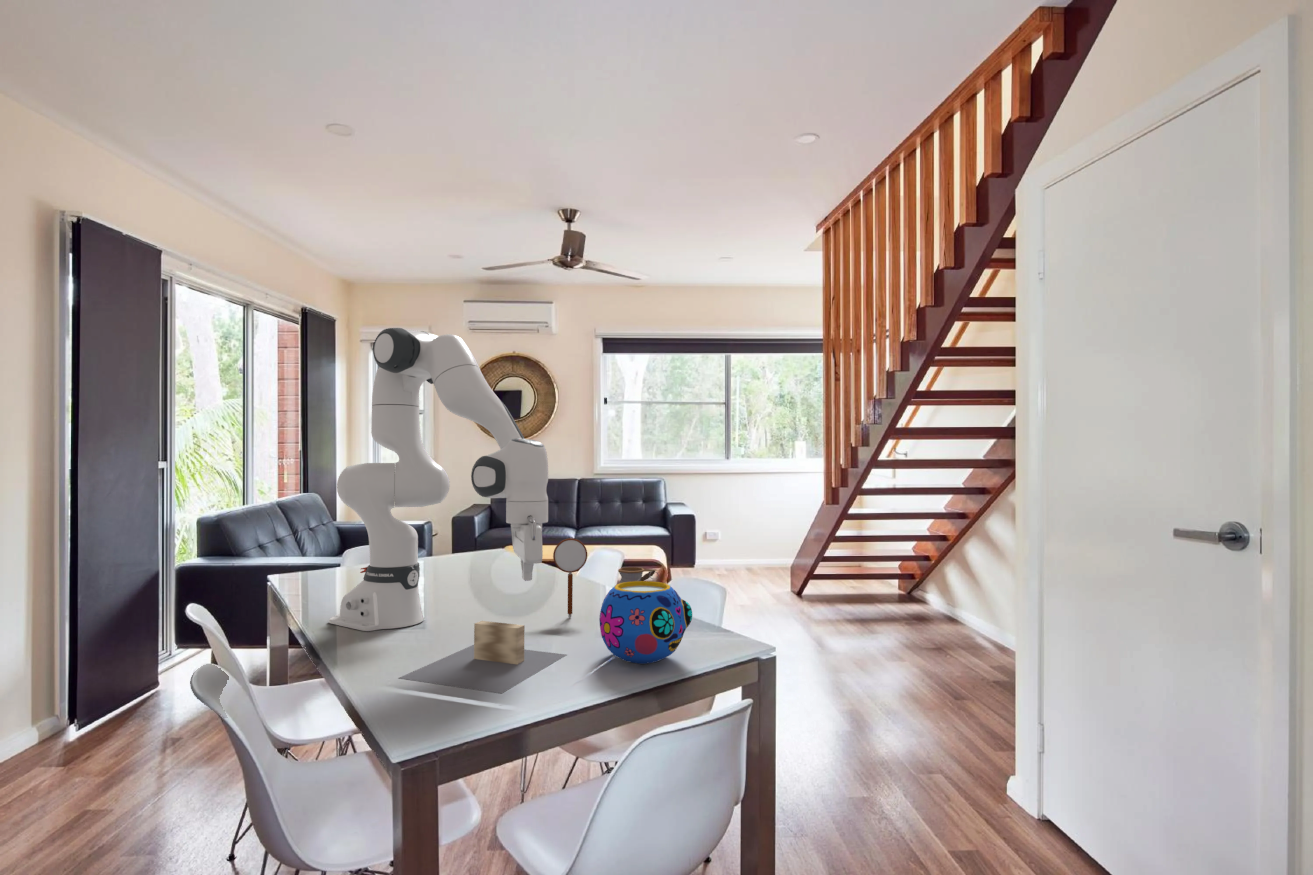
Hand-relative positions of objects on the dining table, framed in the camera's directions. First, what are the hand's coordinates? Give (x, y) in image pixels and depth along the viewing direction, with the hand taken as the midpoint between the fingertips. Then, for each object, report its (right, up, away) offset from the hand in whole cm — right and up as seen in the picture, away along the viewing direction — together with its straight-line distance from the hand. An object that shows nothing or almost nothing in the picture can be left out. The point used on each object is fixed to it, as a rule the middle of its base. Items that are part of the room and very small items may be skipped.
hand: (526, 579), depth 146 cm
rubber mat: (-5, -15, -13) cm, 20 cm away
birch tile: (-4, -14, -9) cm, 17 cm away
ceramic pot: (+25, -15, -7) cm, 30 cm away
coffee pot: (+23, -16, +20) cm, 34 cm away
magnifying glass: (+6, -16, +28) cm, 32 cm away
